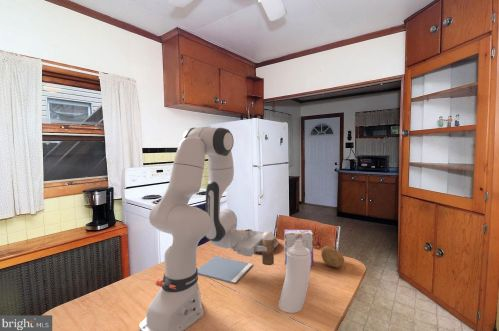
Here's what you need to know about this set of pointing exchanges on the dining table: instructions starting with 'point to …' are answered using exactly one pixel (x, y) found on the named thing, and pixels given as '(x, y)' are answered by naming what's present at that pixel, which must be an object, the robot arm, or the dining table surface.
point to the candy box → (299, 235)
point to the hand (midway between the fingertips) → (270, 246)
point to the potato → (332, 257)
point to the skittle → (269, 254)
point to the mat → (224, 269)
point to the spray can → (295, 278)
